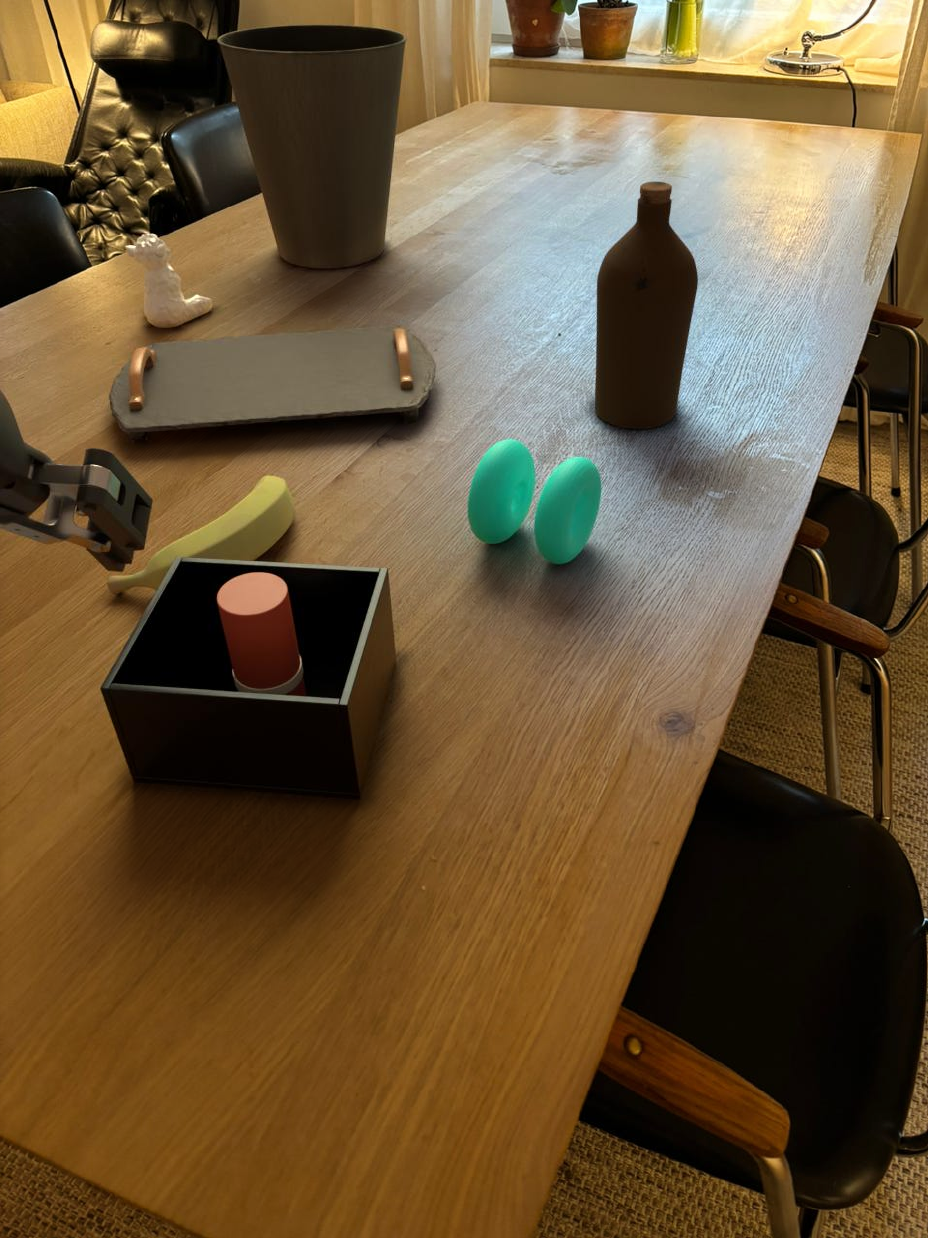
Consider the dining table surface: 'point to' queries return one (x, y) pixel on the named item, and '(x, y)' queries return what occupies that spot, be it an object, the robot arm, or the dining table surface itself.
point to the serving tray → (272, 379)
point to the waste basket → (320, 133)
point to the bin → (254, 722)
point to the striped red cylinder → (261, 635)
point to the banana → (225, 535)
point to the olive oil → (644, 317)
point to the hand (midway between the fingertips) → (37, 546)
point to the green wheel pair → (509, 493)
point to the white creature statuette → (164, 286)
